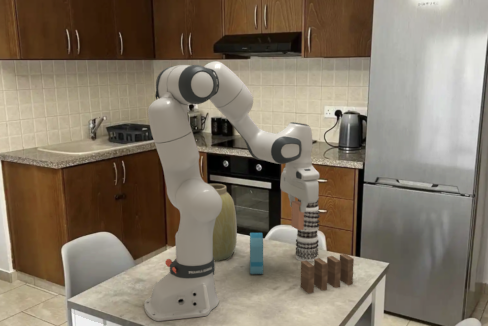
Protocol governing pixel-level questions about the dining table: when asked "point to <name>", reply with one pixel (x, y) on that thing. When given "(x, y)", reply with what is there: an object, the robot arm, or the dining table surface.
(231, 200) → the vase
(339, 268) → the domino
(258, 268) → the data package
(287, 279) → the dining table surface
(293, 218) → the domino
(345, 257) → the domino
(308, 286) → the domino
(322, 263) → the domino
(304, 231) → the decorative candle
